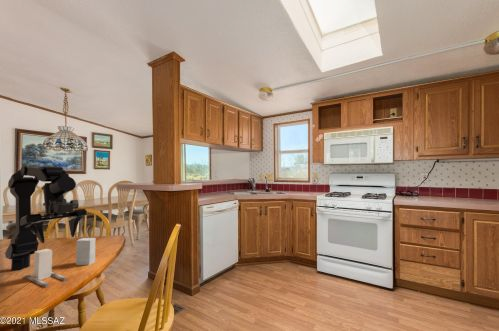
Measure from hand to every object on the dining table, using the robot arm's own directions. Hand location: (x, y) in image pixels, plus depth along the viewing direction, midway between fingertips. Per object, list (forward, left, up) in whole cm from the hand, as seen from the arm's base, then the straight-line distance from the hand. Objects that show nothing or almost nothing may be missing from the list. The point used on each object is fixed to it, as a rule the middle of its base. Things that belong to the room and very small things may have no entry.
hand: (58, 239), depth 85 cm
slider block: (-8, -7, -16) cm, 19 cm away
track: (-6, -5, -17) cm, 19 cm away
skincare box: (-19, +4, -17) cm, 26 cm away
